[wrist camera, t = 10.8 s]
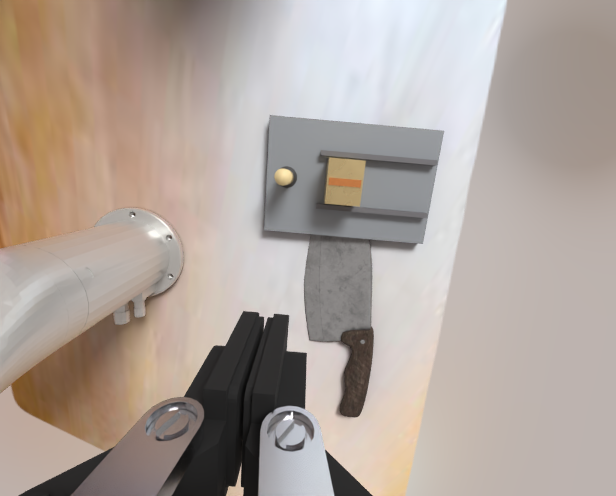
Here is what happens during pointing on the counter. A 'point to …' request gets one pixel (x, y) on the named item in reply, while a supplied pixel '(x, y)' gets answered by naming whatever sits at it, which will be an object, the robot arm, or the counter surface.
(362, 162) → the cardboard box
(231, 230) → the counter surface
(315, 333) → the cleaver
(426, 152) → the bolt plate
